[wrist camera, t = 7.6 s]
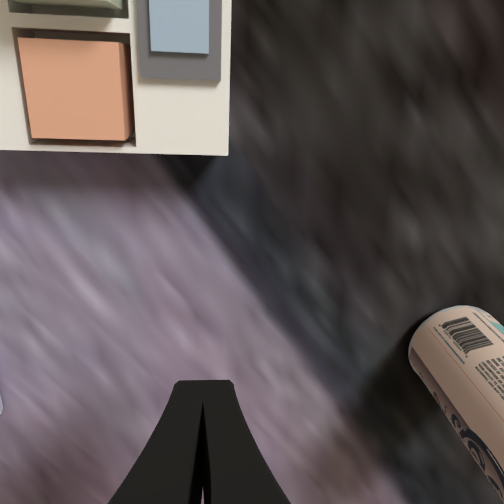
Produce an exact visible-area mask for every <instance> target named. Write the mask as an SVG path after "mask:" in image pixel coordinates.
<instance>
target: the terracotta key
mask: <svg viewBox="0 0 504 504" xmlns="http://www.w3.org/2000/svg"><path fill="white" fill-rule="evenodd" d="M17 38H18V37H17ZM18 45H19V52H20V59H21V66H22V73H23V80H24V86H25V93H26V100H27V107H28V114H29V121H30V128H31V135H32V138H52V139H87V140H122V141H125V140H126V139H127V138H128V137H129V136H130V135H131V134H132V133H134V132H135V114H134V97H133V79H132V62H131V45H129V44H124V43H119V42H101V41H80V40H59V39H39V38H18Z"/></svg>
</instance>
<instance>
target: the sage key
mask: <svg viewBox="0 0 504 504" xmlns="http://www.w3.org/2000/svg"><path fill="white" fill-rule="evenodd" d="M13 1H17V2H20V3H23V4H26V5H44V6H62V7H80V8H98V9H116V10H123V8H122V0H13Z"/></svg>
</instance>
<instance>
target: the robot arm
mask: <svg viewBox="0 0 504 504" xmlns="http://www.w3.org/2000/svg"><path fill="white" fill-rule="evenodd" d="M2 411H3V404H2V399H1V395H0V414H1V413H2ZM202 490H203V492H204V504H291V503H290V501H289V500H288V499H287V497H286V495H285V494H284V492H283V491H282V489H281V487H280V486H279V484H278V483H277V481H276V479H275V478H274V476H273V474H272V472H271V471H270V469H269V467H268V465H267V464H266V462H265V460H264V458H263V456H262V454H261V452H260V451H259V449H258V447H257V444H256V442H255V440H254V438H253V436H252V434H251V432H250V430H249V428H248V426H247V423H246V421H245V419H244V416H243V414H242V411H241V409H240V406H239V403H238V400H237V397H236V393H235V390H234V384H233V383H232V382H231V381H230V380H185V381H178V382H177V383H176V384H174V388H173V391H172V393H171V396H170V399H169V401H168V403H167V406H166V408H165V410H164V412H163V414H162V416H161V418H160V420H159V422H158V424H157V426H156V428H155V430H154V431H153V433H152V435H151V437H150V439H149V440H148V442H147V444H146V446H145V448H144V449H143V451H142V453H141V454H140V456H139V457H138V459H137V461H136V462H135V464H134V465H133V467H132V469H131V470H130V472H129V473H128V475H127V476H126V478H125V480H124V481H123V483H122V484H121V485H120V487H119V488H118V490H117V491H116V493H115V494H114V496H113V497H112V498H111V500H110V501H109V503H108V504H201V499H202Z"/></svg>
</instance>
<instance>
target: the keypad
mask: <svg viewBox="0 0 504 504" xmlns="http://www.w3.org/2000/svg"><path fill="white" fill-rule="evenodd" d="M122 8H123V10H116V9H98V8H80V7H62V6H44V5H26V4H23V3H20V2H17V1H13V0H0V150H28V151H67V152H106V153H144V154H183V155H222V156H228V135H229V88H230V41H231V0H122ZM17 37H18V38H39V39H59V40H80V41H101V42H119V43H124V44H129V45H131V62H132V79H133V97H134V114H135V132H134V133H132V134H131V135H130V136H129V137H128V138H127V139H126V140H125V141H122V140H87V139H52V138H32V135H31V128H30V121H29V114H28V107H27V100H26V93H25V86H24V80H23V73H22V66H21V59H20V52H19V45H18V38H17Z"/></svg>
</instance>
